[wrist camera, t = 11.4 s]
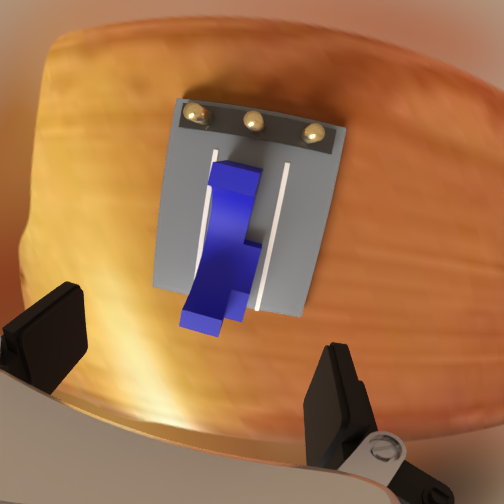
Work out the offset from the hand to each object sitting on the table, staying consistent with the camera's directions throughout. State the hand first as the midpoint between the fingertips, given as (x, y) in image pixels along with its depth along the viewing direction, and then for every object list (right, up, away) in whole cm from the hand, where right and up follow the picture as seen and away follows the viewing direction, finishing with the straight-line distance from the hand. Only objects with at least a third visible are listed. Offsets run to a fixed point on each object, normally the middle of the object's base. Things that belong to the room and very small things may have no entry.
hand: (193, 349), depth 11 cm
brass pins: (+3, +13, +13) cm, 19 cm away
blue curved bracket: (+1, +5, +16) cm, 17 cm away
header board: (+1, +7, +16) cm, 18 cm away
